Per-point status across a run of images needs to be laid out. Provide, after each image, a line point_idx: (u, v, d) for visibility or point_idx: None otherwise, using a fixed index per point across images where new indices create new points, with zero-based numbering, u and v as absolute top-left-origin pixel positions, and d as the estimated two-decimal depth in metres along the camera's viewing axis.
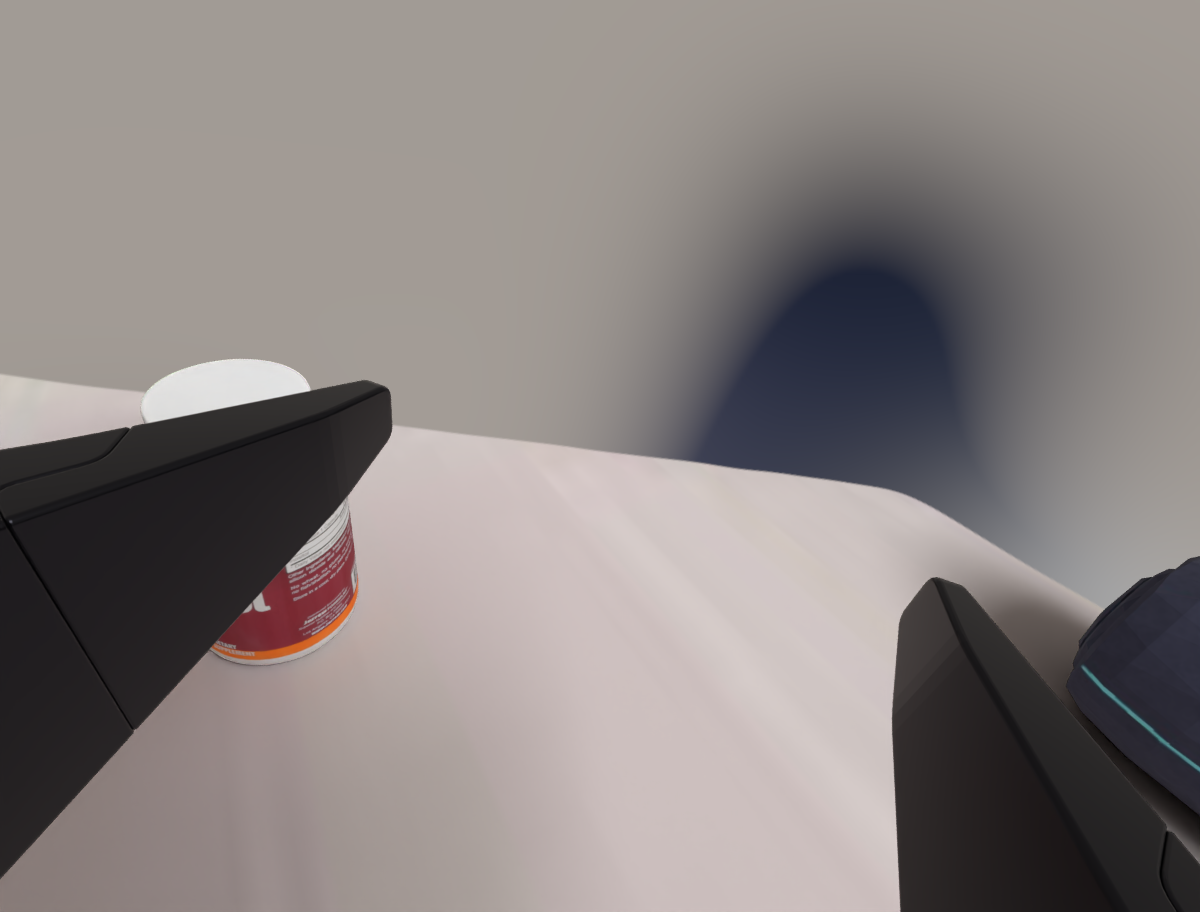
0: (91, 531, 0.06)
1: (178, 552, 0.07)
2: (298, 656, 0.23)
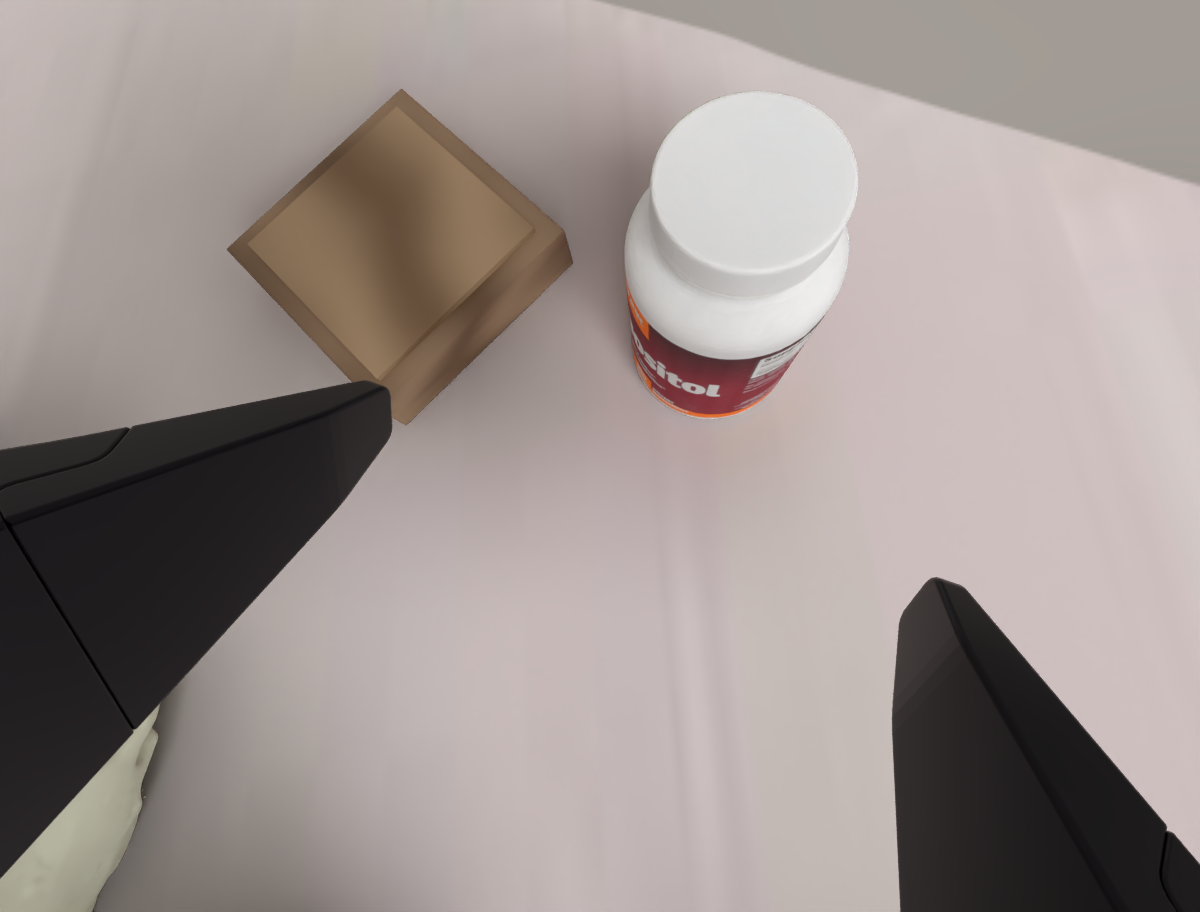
0: (91, 531, 0.06)
1: (178, 552, 0.07)
2: None
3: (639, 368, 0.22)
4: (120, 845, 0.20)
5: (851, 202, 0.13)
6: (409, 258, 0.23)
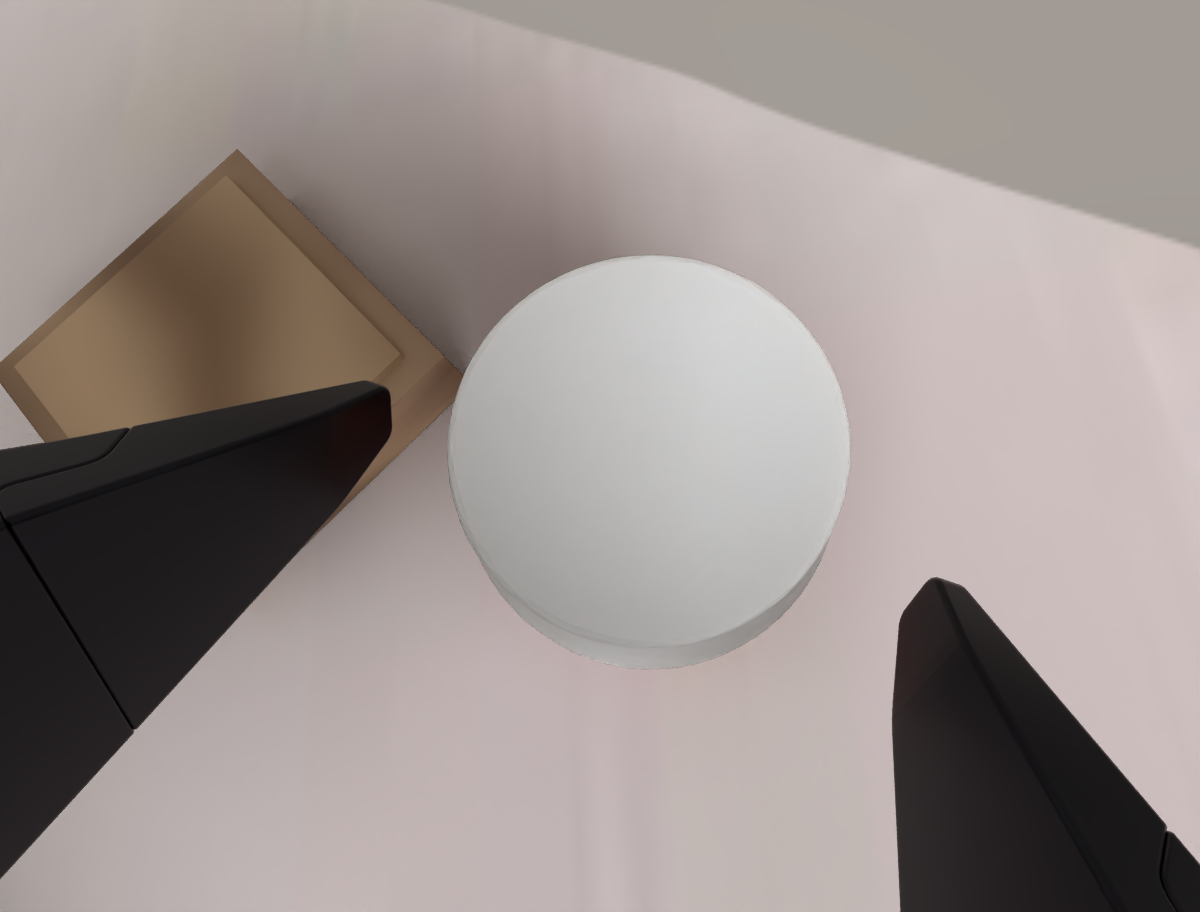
0: (92, 531, 0.06)
1: (178, 552, 0.07)
2: None
3: None
4: None
5: (837, 502, 0.06)
6: (229, 393, 0.16)
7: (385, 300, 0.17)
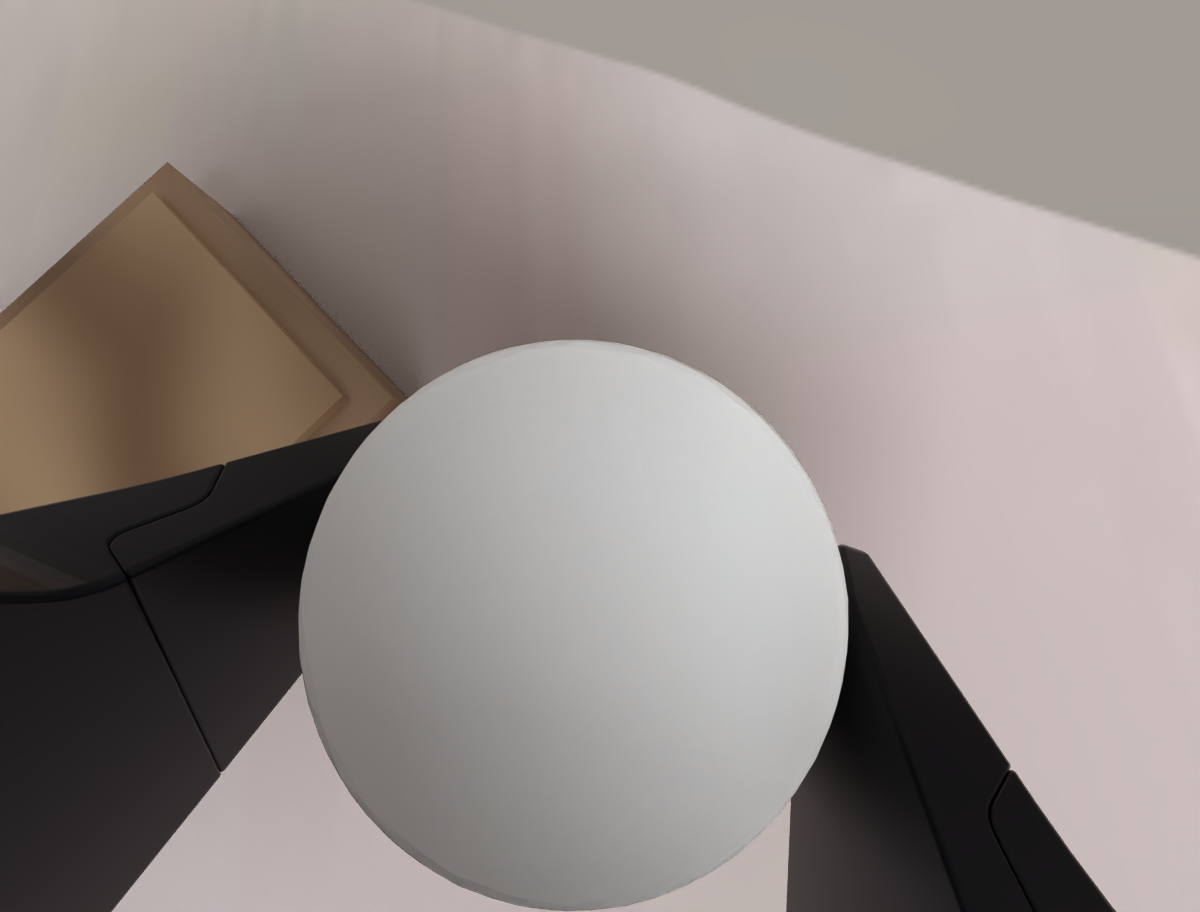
0: (200, 577, 0.06)
1: (272, 592, 0.07)
2: None
3: None
4: None
5: (830, 704, 0.04)
6: (151, 440, 0.15)
7: (327, 334, 0.15)
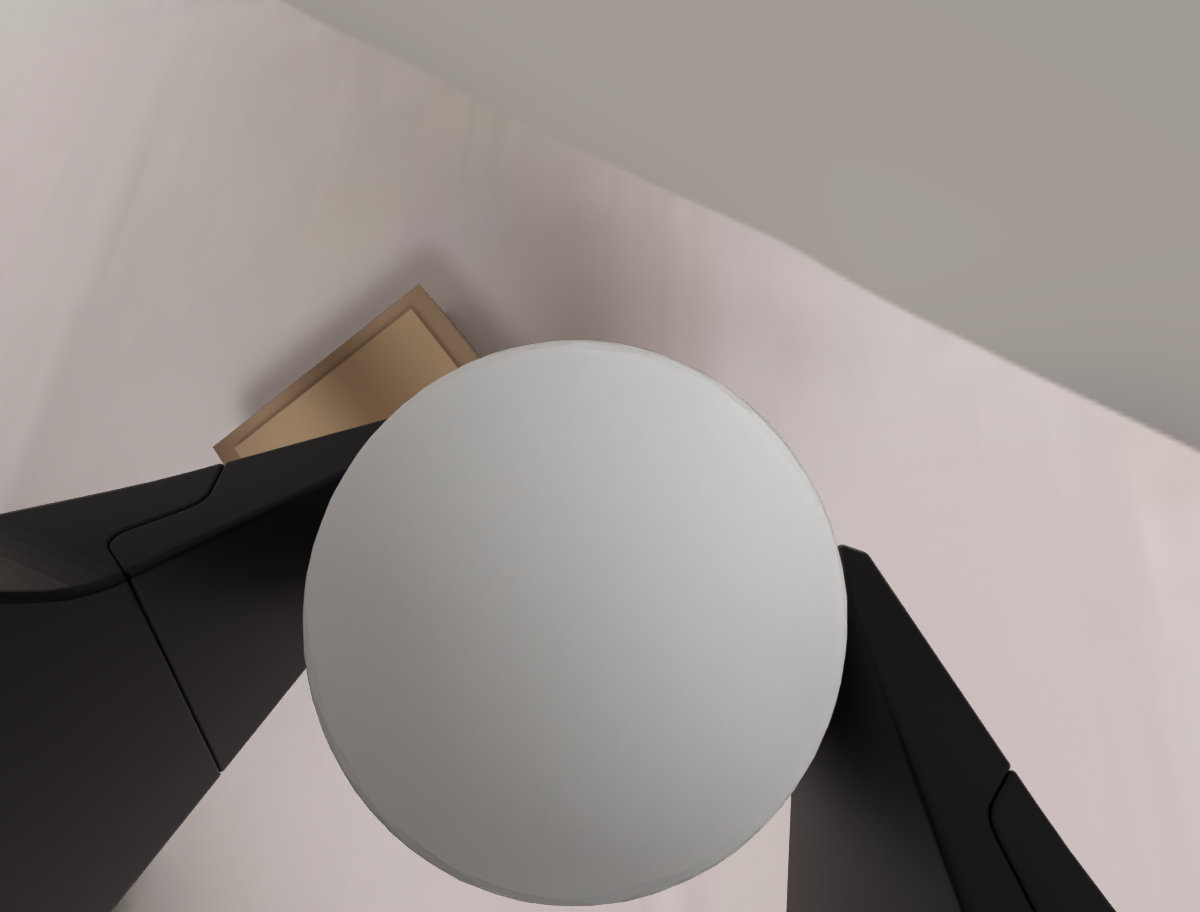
0: (200, 577, 0.06)
1: (273, 592, 0.07)
2: None
3: None
4: None
5: (828, 702, 0.04)
6: None
7: None
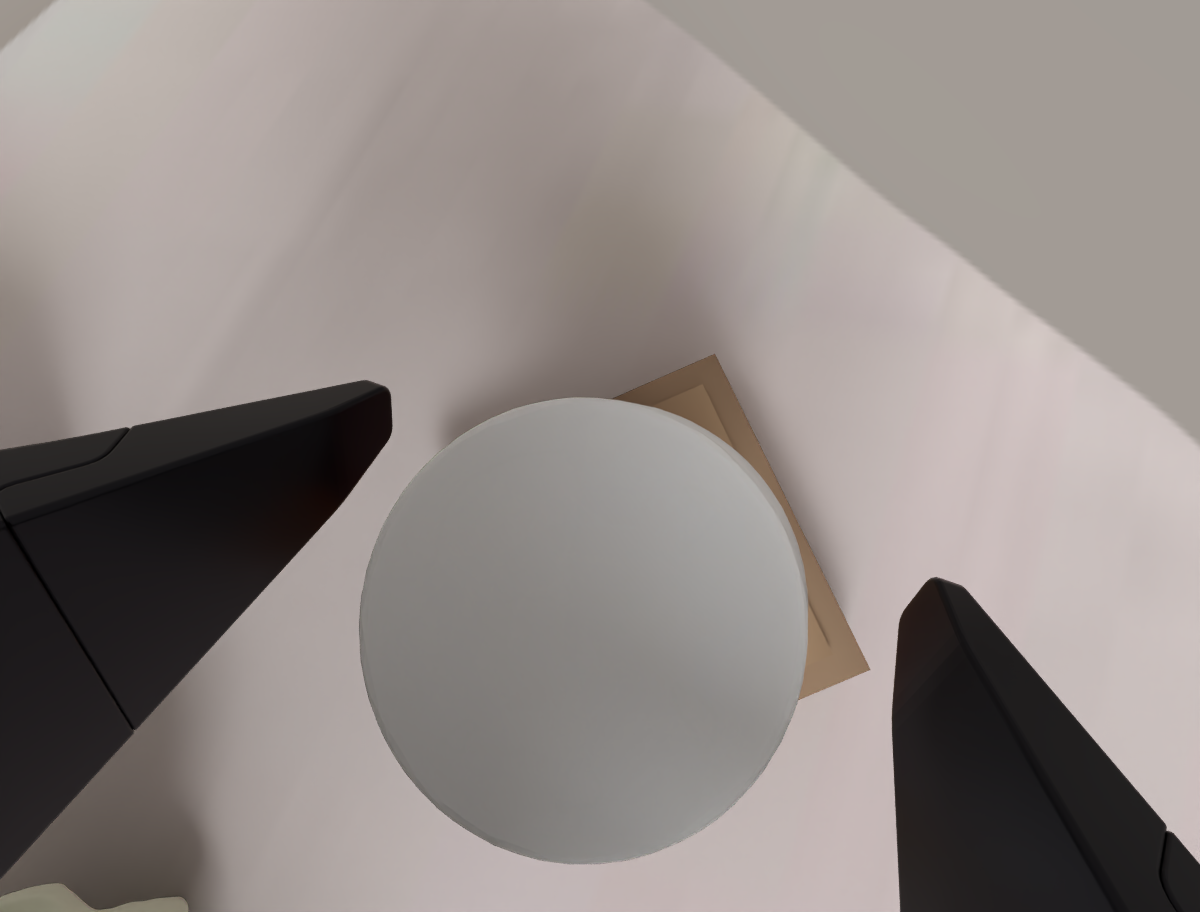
0: (92, 531, 0.06)
1: (178, 552, 0.07)
2: None
3: None
4: None
5: (792, 698, 0.06)
6: None
7: (826, 583, 0.16)
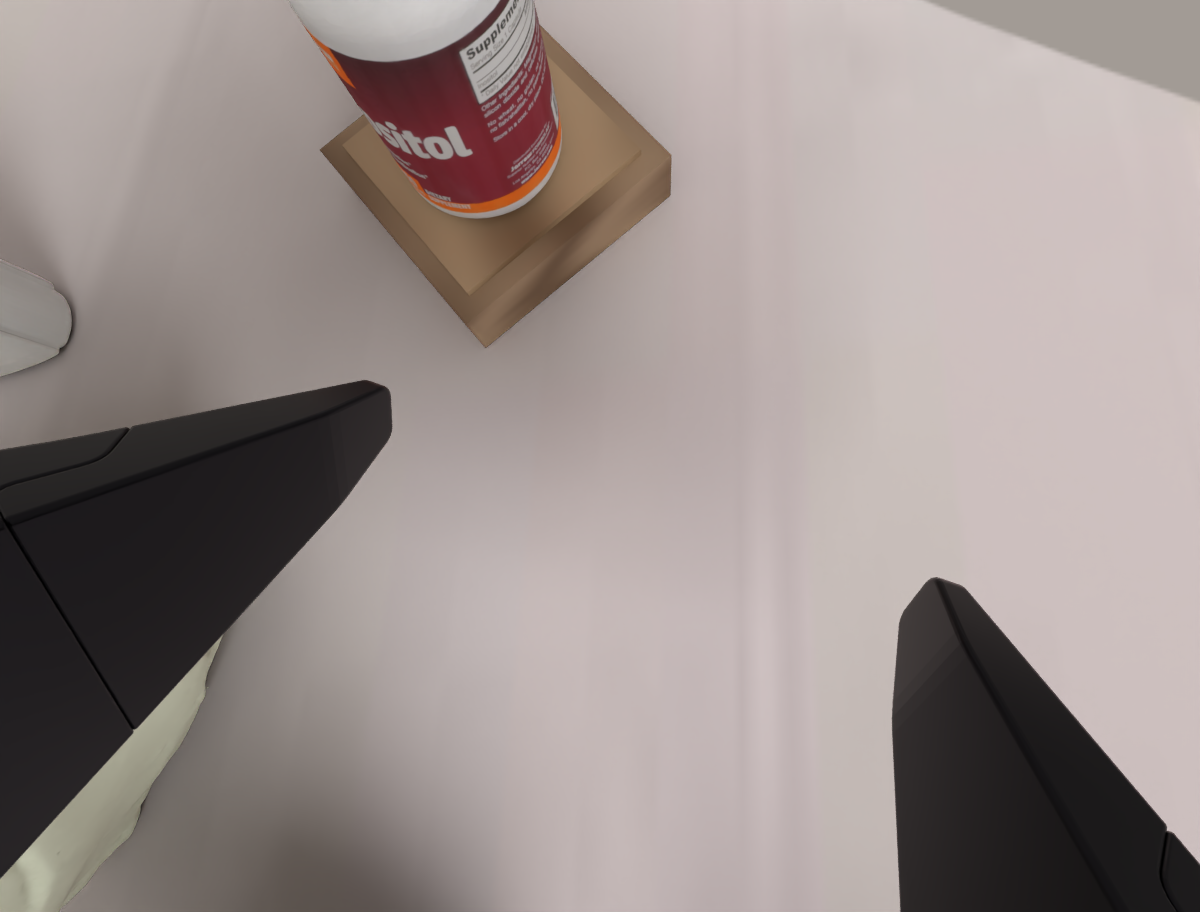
0: (92, 531, 0.06)
1: (178, 552, 0.07)
2: (513, 208, 0.21)
3: (406, 175, 0.21)
4: (183, 730, 0.20)
5: None
6: None
7: (627, 112, 0.22)
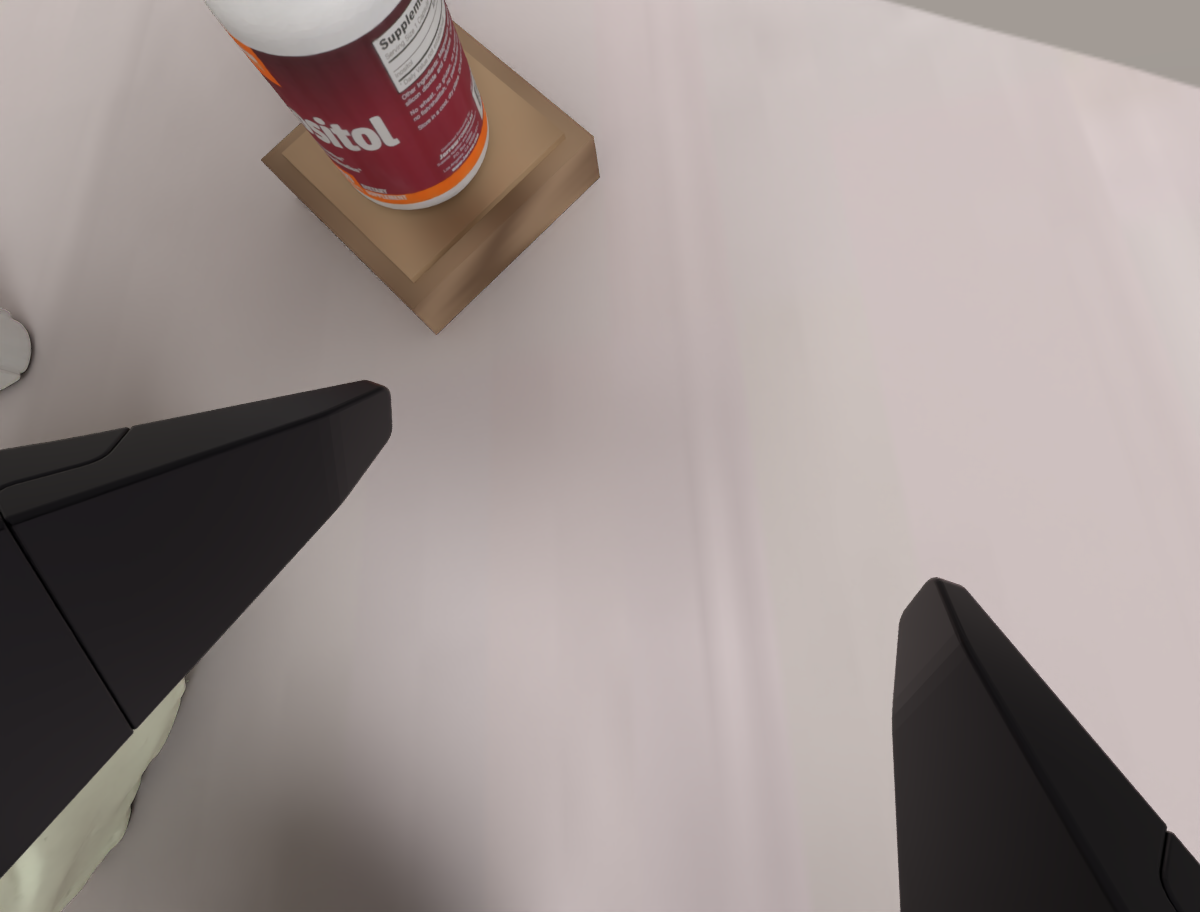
0: (91, 531, 0.06)
1: (178, 552, 0.07)
2: (448, 197, 0.22)
3: (343, 173, 0.22)
4: (165, 723, 0.21)
5: None
6: None
7: (549, 101, 0.24)
